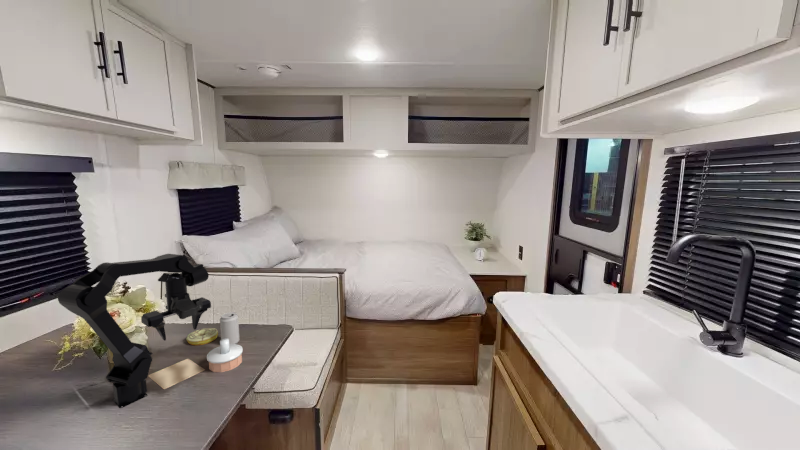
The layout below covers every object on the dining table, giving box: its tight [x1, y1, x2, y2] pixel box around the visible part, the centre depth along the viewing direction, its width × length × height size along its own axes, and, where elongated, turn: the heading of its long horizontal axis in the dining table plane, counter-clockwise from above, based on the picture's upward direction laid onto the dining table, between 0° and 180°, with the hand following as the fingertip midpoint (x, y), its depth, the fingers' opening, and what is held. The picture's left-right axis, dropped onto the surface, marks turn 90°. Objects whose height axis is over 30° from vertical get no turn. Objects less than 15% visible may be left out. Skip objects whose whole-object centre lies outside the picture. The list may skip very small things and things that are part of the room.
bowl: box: [208, 353, 243, 373], centre depth 109 cm, size 10×10×4 cm
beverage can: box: [219, 311, 240, 345], centre depth 123 cm, size 6×6×12 cm
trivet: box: [147, 358, 206, 390], centre depth 104 cm, size 12×12×1 cm
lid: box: [206, 339, 244, 363], centre depth 109 cm, size 11×11×5 cm
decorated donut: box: [185, 327, 219, 346], centre depth 125 cm, size 10×11×4 cm
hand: (180, 334), depth 106 cm, fingers open, 9 cm apart
